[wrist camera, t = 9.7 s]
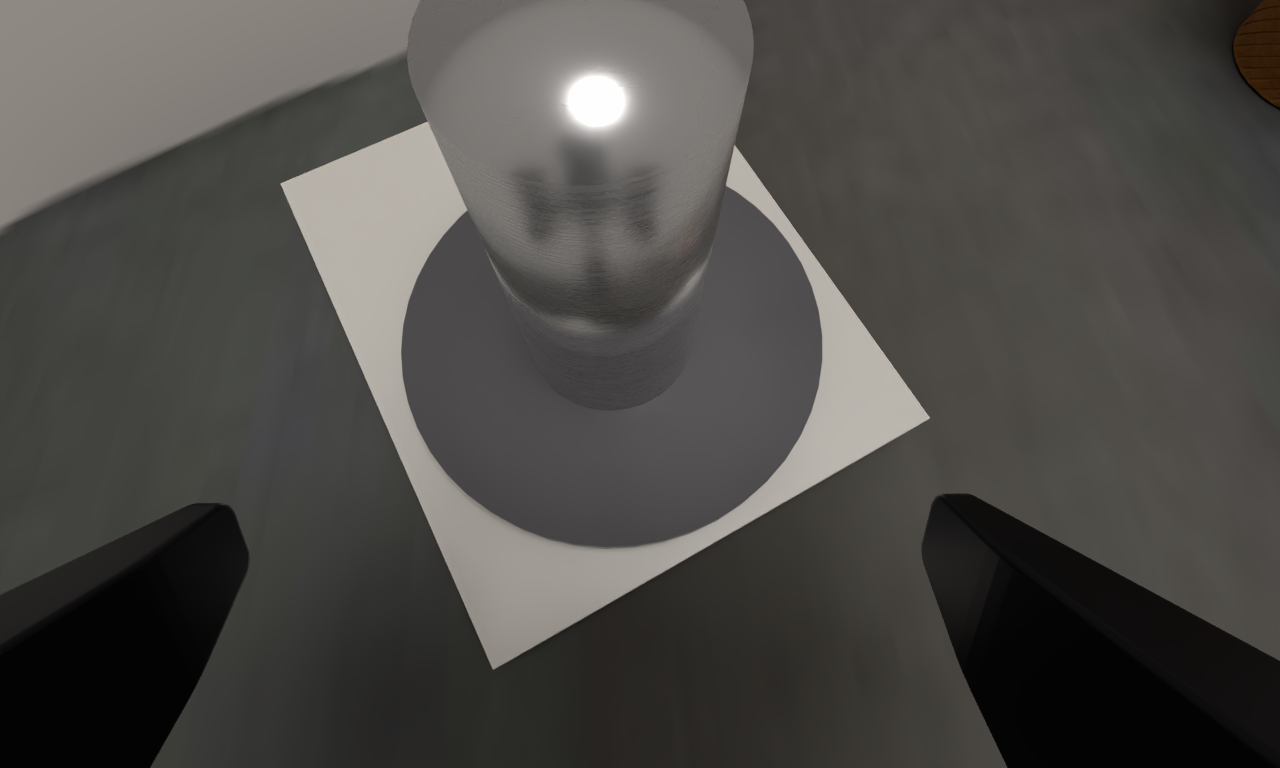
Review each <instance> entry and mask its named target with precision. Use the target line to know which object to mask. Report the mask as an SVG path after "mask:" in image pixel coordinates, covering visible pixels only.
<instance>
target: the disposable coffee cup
mask: <svg viewBox="0 0 1280 768" xmlns="http://www.w3.org/2000/svg"><path fill="white" fill-rule="evenodd" d="M1233 51H1234V56H1235V60H1236V63H1237V65H1238V67H1239V69H1240V72H1241V73H1242V75H1243V76H1244V78H1245V79H1246V80H1247V82H1248V83H1249V84H1250V85H1251V86H1252V87H1253V88H1254V89H1255V90H1256V91H1257V92H1258V93H1259V94H1260V95H1261V96H1262V97H1264V98H1265V99H1266V100H1268V101H1269V102H1270V103H1272V104H1274V105H1276V106H1277V107H1279V108H1280V0H1263V1H1262V2H1261V3H1260V4H1259V5H1258V7H1257V8H1256V9H1255V10H1254V11H1253V13H1252V14H1251V15H1250V16H1249V17H1248V18H1247V19H1246V20H1245V21H1244V22H1243V23H1242V25H1241V26H1240V27H1239V29H1238V30H1237V33H1236V36H1235V39H1234V47H1233Z"/></svg>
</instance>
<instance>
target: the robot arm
mask: <svg viewBox="0 0 1280 768" xmlns="http://www.w3.org/2000/svg"><path fill="white" fill-rule="evenodd" d="M922 559H923V563H924V566H925V569H926V572H927V575H928V577H929V580H930V583H931V586H932V589H933V592H934V594H935V597H936V600H937V603H938V606H939V609H940V611H941V614H942V617H943V620H944V623H945V626H946V628H947V631H948V634H949V637H950V640H951V643H952V645H953V648H954V651H955V654H956V657H957V659H958V662H959V664H960V667H961V669H962V672H963V674H964V677H965V679H966V681H967V683H968V685H969V688H970V690H971V692H972V694H973V696H974V698H975V701H976V703H977V705H978V707H979V709H980V711H981V713H982V715H983V717H984V719H985V721H986V724H987V726H988V728H989V730H990V732H991V734H992V736H993V738H994V740H995V742H996V745H997V747H998V749H999V751H1000V753H1001V755H1002V757H1003V759H1004V761H1005V763H1006V765H1007V768H1280V661H1279V660H1277V659H1275V658H1273V657H1271V656H1270V655H1268V654H1266V653H1264V652H1262V651H1260V650H1259V649H1257V648H1255V647H1253V646H1251V645H1249V644H1247V643H1246V642H1244V641H1242V640H1240V639H1238V638H1236V637H1234V636H1233V635H1231V634H1229V633H1227V632H1225V631H1223V630H1221V629H1220V628H1218V627H1216V626H1214V625H1212V624H1210V623H1209V622H1207V621H1205V620H1203V619H1201V618H1199V617H1197V616H1196V615H1194V614H1192V613H1190V612H1188V611H1186V610H1184V609H1183V608H1181V607H1179V606H1177V605H1175V604H1173V603H1171V602H1170V601H1168V600H1166V599H1164V598H1162V597H1160V596H1159V595H1157V594H1155V593H1153V592H1151V591H1149V590H1147V589H1146V588H1144V587H1142V586H1140V585H1138V584H1136V583H1134V582H1133V581H1131V580H1129V579H1127V578H1125V577H1123V576H1121V575H1120V574H1118V573H1116V572H1114V571H1112V570H1110V569H1109V568H1107V567H1105V566H1103V565H1101V564H1099V563H1097V562H1096V561H1094V560H1092V559H1090V558H1088V557H1086V556H1084V555H1083V554H1081V553H1079V552H1077V551H1075V550H1073V549H1072V548H1070V547H1068V546H1066V545H1064V544H1062V543H1060V542H1059V541H1057V540H1055V539H1053V538H1051V537H1049V536H1047V535H1046V534H1044V533H1042V532H1040V531H1038V530H1036V529H1035V528H1033V527H1031V526H1029V525H1027V524H1025V523H1023V522H1022V521H1020V520H1018V519H1016V518H1014V517H1012V516H1010V515H1009V514H1007V513H1005V512H1003V511H1001V510H999V509H998V508H996V507H994V506H992V505H990V504H988V503H986V502H985V501H983V500H981V499H979V498H977V497H975V496H973V495H971V494H940V495H938V496H936V497H935V499H934V500H933V502H932V505H931V509H930V513H929V517H928V521H927V525H926V529H925V533H924V537H923V542H922ZM249 562H250V558H249V551H248V548H247V545H246V543H245V540H244V537H243V534H242V531H241V529H240V526H239V523H238V520H237V517H236V515H235V512H234V510H233V509H232V508H231V507H230V506H229V505H227V504H224V503H196V504H191V505H188V506H186V507H184V508H182V509H180V510H178V511H175V512H173V513H171V514H169V515H167V516H165V517H163V518H161V519H159V520H157V521H154V522H152V523H150V524H148V525H146V526H144V527H142V528H140V529H138V530H135V531H133V532H131V533H129V534H127V535H125V536H123V537H121V538H119V539H117V540H114V541H112V542H110V543H108V544H106V545H104V546H102V547H100V548H98V549H95V550H93V551H91V552H89V553H87V554H85V555H83V556H81V557H79V558H77V559H74V560H72V561H70V562H68V563H66V564H64V565H62V566H60V567H58V568H55V569H53V570H51V571H49V572H47V573H45V574H43V575H41V576H39V577H37V578H34V579H32V580H30V581H28V582H26V583H24V584H22V585H20V586H18V587H15V588H13V589H11V590H9V591H7V592H5V593H3V594H1V595H0V768H150V767H151V765H152V764H153V762H154V760H155V758H156V757H157V755H158V753H159V751H160V750H161V748H162V746H163V744H164V742H165V741H166V739H167V737H168V735H169V734H170V732H171V730H172V728H173V727H174V725H175V723H176V721H177V720H178V718H179V716H180V714H181V713H182V711H183V709H184V707H185V706H186V704H187V702H188V700H189V698H190V696H191V694H192V693H193V691H194V689H195V687H196V685H197V683H198V681H199V679H200V677H201V675H202V673H203V671H204V669H205V667H206V664H207V662H208V660H209V658H210V655H211V653H212V651H213V649H214V646H215V644H216V642H217V640H218V638H219V635H220V633H221V631H222V629H223V626H224V624H225V622H226V620H227V617H228V615H229V613H230V611H231V608H232V606H233V604H234V602H235V599H236V597H237V595H238V593H239V590H240V588H241V586H242V584H243V582H244V579H245V577H246V575H247V572H248V568H249Z"/></svg>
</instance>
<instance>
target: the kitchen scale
mask: <svg viewBox="0 0 1280 768" xmlns="http://www.w3.org/2000/svg"><path fill="white" fill-rule="evenodd" d="M281 186H282V188H283V191H284V193H285V195H286V197H287V200H288V202H289V204H290V207H291V209H292V211H293V213H294V216H295V218H296V220H297V223H298V225H299V227H300V229H301V232H302V234H303V236H304V239H305V241H306V243H307V245H308V248H309V250H310V252H311V255H312V257H313V259H314V261H315V264H316V266H317V268H318V271H319V273H320V275H321V277H322V280H323V282H324V284H325V287H326V289H327V291H328V293H329V296H330V298H331V300H332V303H333V305H334V307H335V309H336V312H337V314H338V316H339V319H340V321H341V323H342V326H343V328H344V330H345V332H346V335H347V337H348V339H349V342H350V344H351V346H352V348H353V351H354V353H355V355H356V358H357V360H358V362H359V364H360V367H361V369H362V371H363V374H364V376H365V378H366V380H367V383H368V385H369V387H370V390H371V392H372V394H373V396H374V399H375V401H376V403H377V406H378V408H379V410H380V412H381V415H382V417H383V419H384V422H385V424H386V426H387V428H388V431H389V433H390V435H391V438H392V440H393V442H394V444H395V447H396V449H397V451H398V454H399V456H400V458H401V460H402V463H403V465H404V467H405V470H406V472H407V474H408V476H409V479H410V481H411V483H412V486H413V488H414V490H415V492H416V495H417V497H418V499H419V502H420V504H421V506H422V509H423V511H424V513H425V515H426V518H427V520H428V522H429V525H430V527H431V529H432V531H433V534H434V536H435V538H436V541H437V543H438V545H439V547H440V550H441V552H442V554H443V557H444V559H445V561H446V563H447V566H448V568H449V570H450V573H451V575H452V577H453V579H454V582H455V584H456V586H457V589H458V591H459V593H460V595H461V598H462V600H463V602H464V605H465V607H466V609H467V611H468V614H469V616H470V618H471V621H472V623H473V625H474V627H475V630H476V632H477V634H478V637H479V639H480V641H481V643H482V646H483V648H484V650H485V653H486V655H487V657H488V659H489V662H490V664H491V666H492V669H493V670H494V669H495V668H497V667H499V666H501V665H503V664H505V663H507V662H509V661H511V660H512V659H514V658H516V657H518V656H519V655H521V654H523V653H525V652H526V651H528V650H530V649H532V648H533V647H535V646H537V645H538V644H540V643H542V642H544V641H545V640H547V639H549V638H551V637H552V636H554V635H556V634H558V633H559V632H561V631H563V630H564V629H566V628H568V627H570V626H571V625H573V624H575V623H577V622H578V621H580V620H582V619H584V618H585V617H587V616H589V615H591V614H592V613H594V612H596V611H597V610H599V609H601V608H603V607H604V606H606V605H608V604H610V603H611V602H613V601H615V600H617V599H618V598H620V597H622V596H624V595H625V594H627V593H629V592H630V591H632V590H634V589H636V588H637V587H639V586H641V585H643V584H644V583H646V582H648V581H650V580H651V579H653V578H655V577H656V576H658V575H660V574H662V573H663V572H665V571H667V570H669V569H670V568H672V567H674V566H676V565H677V564H679V563H681V562H683V561H684V560H686V559H688V558H689V557H691V556H693V555H695V554H696V553H698V552H700V551H702V550H703V549H705V548H707V547H709V546H710V545H712V544H714V543H716V542H717V541H719V540H721V539H722V538H724V537H726V536H728V535H729V534H731V533H733V532H735V531H736V530H738V529H740V528H742V527H743V526H745V525H747V524H748V523H750V522H752V521H754V520H755V519H757V518H759V517H761V516H762V515H764V514H766V513H768V512H769V511H771V510H773V509H775V508H776V507H778V506H780V505H781V504H783V503H785V502H787V501H788V500H790V499H792V498H794V497H795V496H797V495H799V494H801V493H802V492H804V491H806V490H808V489H809V488H811V487H813V486H814V485H816V484H818V483H820V482H821V481H823V480H825V479H827V478H828V477H830V476H832V475H834V474H835V473H837V472H839V471H840V470H842V469H844V468H846V467H847V466H849V465H851V464H853V463H854V462H856V461H858V460H860V459H861V458H863V457H865V456H867V455H868V454H870V453H872V452H873V451H875V450H877V449H879V448H880V447H882V446H884V445H886V444H887V443H889V442H891V441H893V440H894V439H896V438H898V437H899V436H901V435H903V434H904V433H906V432H908V431H909V430H911V429H913V428H914V427H916V426H918V425H919V424H921V423H923V422H924V421H926V420H928V419H929V418H930V417H929V416H928V415H927V413H926V412H925V410H924V409H923V408H922V406H921V405H920V403H919V402H918V401H917V399H916V398H915V397H914V395H913V394H912V392H911V391H910V390H909V388H908V387H907V385H906V384H905V383H904V381H903V380H902V378H901V377H900V376H899V374H898V373H897V371H896V370H895V369H894V367H893V366H892V364H891V363H890V362H889V360H888V359H887V357H886V356H885V355H884V353H883V352H882V350H881V349H880V348H879V346H878V345H877V343H876V342H875V341H874V339H873V338H872V336H871V335H870V334H869V332H868V331H867V329H866V328H865V327H864V325H863V324H862V322H861V321H860V320H859V318H858V317H857V315H856V314H855V313H854V311H853V310H852V308H851V307H850V306H849V304H848V303H847V301H846V300H845V299H844V297H843V296H842V294H841V293H840V292H839V290H838V289H837V287H836V286H835V285H834V283H833V282H832V280H831V279H830V278H829V276H828V275H827V273H826V272H825V271H824V269H823V268H822V267H821V265H820V264H819V262H818V261H817V260H816V258H815V257H814V255H813V254H812V253H811V251H810V250H809V248H808V247H807V246H806V244H805V243H804V241H803V240H802V239H801V237H800V236H799V234H798V233H797V232H796V230H795V229H794V227H793V226H792V225H791V223H790V222H789V220H788V219H787V218H786V216H785V215H784V213H783V212H782V211H781V209H780V208H779V206H778V205H777V204H776V202H775V201H774V199H773V198H772V197H771V195H770V194H769V192H768V191H767V190H766V188H765V187H764V185H763V184H762V183H761V181H760V180H759V178H758V177H757V176H756V174H755V173H754V171H753V170H752V169H751V167H750V166H749V164H748V163H747V162H746V160H745V159H744V157H743V156H742V155H741V153H740V152H739V150H738V149H737V148H736V146H735V145H734V150H733V154H732V159H731V164H730V168H729V173H728V178H727V182H726V187H725V192H724V196H723V201H722V205H721V210H720V215H719V219H718V224H717V229H716V233H715V238H714V242H713V247H712V252H711V256H710V261H709V266H708V270H707V275H706V280H705V284H704V289H703V293H702V298H701V303H700V307H699V312H698V317H697V321H696V326H695V330H694V335H693V340H692V344H691V349H690V354H689V356H688V359H687V362H686V364H685V366H684V368H683V370H682V372H681V373H680V375H679V376H678V378H677V379H676V380H675V382H674V383H673V384H672V385H671V386H670V387H669V388H668V389H667V390H665V391H664V392H663V393H662V394H661V395H659V396H657V397H656V398H654V399H653V400H651V401H649V402H647V403H644V404H642V405H640V406H636V407H633V408H629V409H623V410H612V411H607V410H596V409H592V408H587V407H584V406H581V405H578V404H576V403H574V402H572V401H570V400H568V399H566V398H565V397H563V396H562V395H560V394H559V393H558V392H557V391H556V390H554V389H553V388H552V387H551V386H550V385H549V384H548V382H547V381H546V380H545V379H544V377H543V376H542V374H541V373H540V371H539V369H538V367H537V365H536V363H535V360H534V358H533V356H532V354H531V351H530V349H529V347H528V345H527V342H526V340H525V338H524V336H523V334H522V331H521V329H520V327H519V325H518V322H517V320H516V318H515V316H514V313H513V311H512V309H511V307H510V304H509V302H508V300H507V298H506V295H505V293H504V291H503V289H502V287H501V284H500V282H499V280H498V278H497V275H496V273H495V271H494V269H493V266H492V264H491V262H490V260H489V257H488V255H487V253H486V251H485V248H484V246H483V244H482V242H481V239H480V237H479V235H478V233H477V231H476V228H475V226H474V224H473V222H472V219H471V217H470V215H469V213H468V210H467V208H466V206H465V204H464V201H463V199H462V197H461V195H460V192H459V190H458V188H457V186H456V184H455V181H454V179H453V177H452V175H451V172H450V170H449V168H448V166H447V163H446V161H445V159H444V157H443V154H442V152H441V150H440V148H439V145H438V143H437V141H436V139H435V136H434V134H433V132H432V130H431V128H430V125H429V123H428V122H426V123H423V124H421V125H419V126H416V127H414V128H412V129H409V130H407V131H404V132H402V133H400V134H397V135H395V136H393V137H390V138H388V139H385V140H383V141H381V142H378V143H376V144H374V145H371V146H369V147H366V148H364V149H362V150H359V151H357V152H354V153H352V154H350V155H347V156H345V157H343V158H340V159H338V160H335V161H333V162H331V163H328V164H326V165H324V166H321V167H319V168H316V169H314V170H312V171H309V172H307V173H305V174H302V175H300V176H297V177H295V178H293V179H290V180H288V181H285V182H283V183H281Z"/></svg>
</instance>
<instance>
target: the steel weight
mask: <svg viewBox="0 0 1280 768" xmlns="http://www.w3.org/2000/svg"><path fill="white" fill-rule="evenodd" d="M753 45H754V40H753V32H752V25H751V21H750V17H749V14H748V11H747V7H746V5H745V3H744V1H743V0H421V1H420V2H419V5H418V7H417V9H416V12H415V14H414V16H413V20H412V24H411V28H410V31H409V36H408V47H407V59H408V71H409V75H410V78H411V82H412V86H413V89H414V92H415V94H416V96H417V98H418V101H419V103H420V105H421V107H422V110H423V112H424V114H425V116H426V119H427V121H428V123H429V125H430V128H431V130H432V132H433V134H434V136H435V139H436V141H437V143H438V145H439V148H440V150H441V152H442V154H443V157H444V159H445V161H446V163H447V166H448V168H449V170H450V172H451V175H452V177H453V179H454V181H455V184H456V186H457V188H458V190H459V192H460V195H461V197H462V199H463V201H464V204H465V206H466V208H467V210H468V213H469V215H470V217H471V219H472V222H473V224H474V226H475V228H476V231H477V233H478V235H479V237H480V239H481V242H482V244H483V246H484V248H485V251H486V253H487V255H488V257H489V260H490V262H491V264H492V266H493V269H494V271H495V273H496V275H497V278H498V280H499V282H500V284H501V287H502V289H503V291H504V293H505V295H506V298H507V300H508V302H509V304H510V307H511V309H512V311H513V313H514V316H515V318H516V320H517V322H518V325H519V327H520V329H521V331H522V334H523V336H524V338H525V340H526V342H527V345H528V347H529V349H530V351H531V354H532V356H533V358H534V360H535V363H536V365H537V367H538V369H539V371H540V373H541V374H542V376H543V377H544V379H545V380H546V381H547V382H548V384H549V385H550V386H551V387H552V388H553V389H554V390H556V391H557V392H558V393H559V394H560V395H562V396H563V397H565V398H566V399H568V400H570V401H572V402H574V403H576V404H578V405H581V406H584V407H587V408H592V409H596V410H607V411H612V410H623V409H629V408H633V407H636V406H640V405H642V404H644V403H647V402H649V401H651V400H653V399H654V398H656V397H657V396H659V395H661V394H662V393H663V392H664V391H665V390H667V389H668V388H669V387H670V386H671V385H672V384H673V383H674V382H675V380H676V379H677V378H678V376H679V375H680V373H681V372H682V370H683V368H684V366H685V364H686V362H687V359H688V356H689V354H690V349H691V344H692V340H693V335H694V330H695V326H696V321H697V317H698V312H699V307H700V303H701V298H702V293H703V289H704V284H705V280H706V275H707V270H708V266H709V261H710V256H711V252H712V247H713V242H714V238H715V233H716V229H717V224H718V219H719V215H720V210H721V205H722V201H723V196H724V192H725V187H726V182H727V178H728V173H729V168H730V164H731V159H732V154H733V150H734V145H735V141H736V136H737V131H738V127H739V122H740V117H741V113H742V108H743V104H744V99H745V94H746V90H747V85H748V80H749V76H750V71H751V66H752V61H753Z"/></svg>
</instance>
